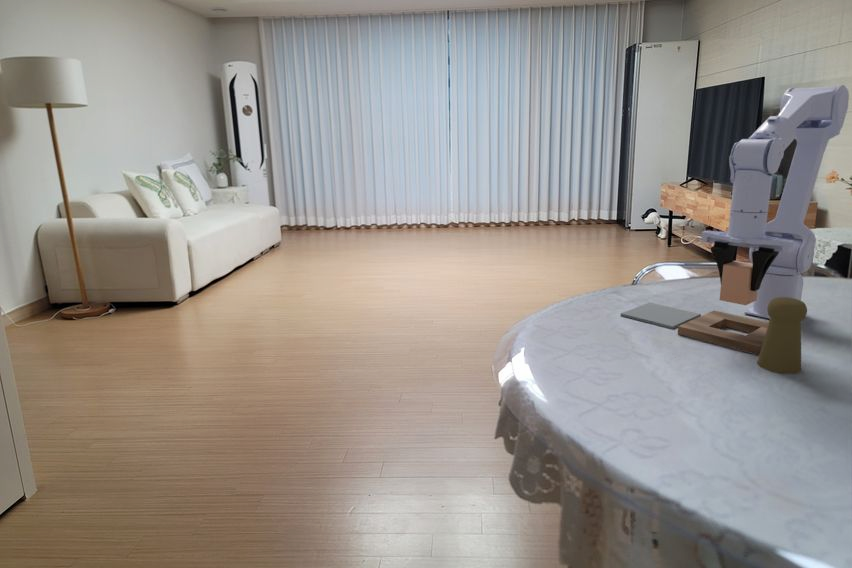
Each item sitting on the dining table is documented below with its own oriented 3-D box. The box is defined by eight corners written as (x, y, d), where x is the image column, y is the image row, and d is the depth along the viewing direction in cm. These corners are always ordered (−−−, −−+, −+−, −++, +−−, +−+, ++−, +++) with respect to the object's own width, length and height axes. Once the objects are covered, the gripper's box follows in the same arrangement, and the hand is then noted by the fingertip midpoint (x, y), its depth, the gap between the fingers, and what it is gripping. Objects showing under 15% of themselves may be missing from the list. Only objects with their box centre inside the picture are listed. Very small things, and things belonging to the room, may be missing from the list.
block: (730, 295, 109) (734, 260, 107) (756, 300, 105) (761, 264, 104) (719, 300, 106) (723, 264, 104) (745, 305, 103) (750, 269, 101)
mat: (649, 304, 126) (649, 302, 126) (700, 316, 118) (700, 314, 118) (620, 315, 119) (620, 313, 119) (672, 328, 111) (672, 326, 111)
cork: (807, 374, 90) (818, 305, 87) (764, 372, 91) (773, 303, 88) (792, 359, 96) (802, 294, 93) (751, 357, 97) (760, 293, 94)
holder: (713, 317, 117) (713, 310, 117) (791, 335, 107) (792, 327, 106) (677, 333, 108) (678, 326, 108) (758, 354, 98) (759, 346, 97)
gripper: (696, 209, 105) (688, 283, 108) (786, 217, 94) (774, 299, 97) (714, 205, 109) (707, 276, 112) (802, 212, 98) (791, 291, 102)
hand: (739, 287), depth 105 cm, fingers closed on block, 4 cm apart
